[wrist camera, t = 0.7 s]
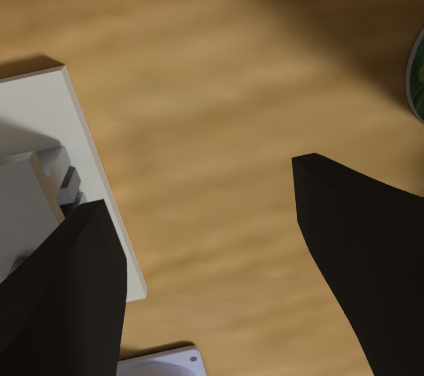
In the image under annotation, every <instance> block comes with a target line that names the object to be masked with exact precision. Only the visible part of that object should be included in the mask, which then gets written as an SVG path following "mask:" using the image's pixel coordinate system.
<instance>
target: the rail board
mask: <svg viewBox="0 0 424 376" xmlns="http://www.w3.org/2000/svg"><path fill="white" fill-rule="evenodd" d="M63 145H64V146H65V148H66V151H67V153H68V156H69V158H70V160H71V164H70V166H69V168H68V170H67V173H66V175H65V177H64V180H63V182H62V184H61V187H60V189H59V191H58V193H57V196H56V199H57V202H58V204H59V205H64V204H68V203H73V202H74V200H75V198H76V195H77V193H80V192H84V195H85V197H86V199H87V202H91V201H96V200H100V199H104V200H105V203H106V206H107V208H108V211H109V213H110V216H111V219H112V221H113V224H114V226H115V229H116V232H117V234H118V237H119V239H120V242H121V245H122V247H123V250H124V252H125V255H126V258H127V298H126V302H130V301H134V300H139V299H144V298H146V291H147V286H146V283H145V280H144V278H143V275H142V272H141V269H140V267H139V264H138V261H137V259H136V256H135V253H134V250H133V248H132V245H131V242H130V240H129V237H128V234H127V231H126V229H125V226H124V223H123V220H122V218H121V215H120V212H119V210H118V207H117V204H116V201H115V199H114V196H113V193H112V191H111V188H110V185H109V182H108V180H107V177H106V174H105V171H104V169H103V166H102V163H101V161H100V158H99V155H98V152H97V150H96V147H95V144H94V142H93V139H92V136H91V133H90V131H89V128H88V125H87V123H86V120H85V117H84V114H83V112H82V109H81V106H80V103H79V101H78V98H77V95H76V93H75V90H74V87H73V84H72V82H71V79H70V76H69V74H68V71H67V68H66V65H62V66H58V67H53V68H49V69H44V70H39V71H35V72H30V73H26V74H21V75H16V76H12V77H7V78H2V79H0V158H3V157H7V156H12V155H17V154H21V153H26V152H30V151H40V150H44V149H49V148H54V147H58V146H63Z"/></svg>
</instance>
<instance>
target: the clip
mask: <svg viewBox="0 0 424 376" xmlns="http://www.w3.org/2000/svg"><path fill="white" fill-rule="evenodd" d="M70 164H71V160H70V158H69V156H68V153H67V151H66V148H65V146H64V145H63V146H58V147H54V148H49V149H44V150H40V151H30V152H26V153H21V154H17V155H12V156H7V157H3V158H0V283H1V282H2V281H3V280H5V279H6V278H7V277H8V276H9V275H10V274H11V273H12V272H13V271H14V270H15V269H16V268H17V267H18V266H19V265H20V264H21V263H22V262H23V261H24V260H25V259H27V258H28V257H29V256H30V255H31V254H32V253H33V252H34V251H35V250H36V249H37V248H38V247H39V246H40V245H41V244H42V242H43V241H44V240H45V239H46V238H47V237H48V236H49V235H50V234H51V233H52V232H53V231H54V230H55V229H56V228H57V227H58V226H59V225H60V224H61V223H62V221H63V220H64V219H65V218H66V217H67V216H68V215H69V214H70V213H71V212H72V211H73V210H74V209H75V208H76V207H78V206H79V205H80V204H82V203H86V202H87V199H86V197H85V195H84V192H80V193H77V195H76V198H75V200H74V202H73V203H68V204H64V205H59V204H58V202H57V199H56V196H57V193H58V191H59V189H60V187H61V184H62V182H63V180H64V177H65V175H66V173H67V170H68V168H69V166H70Z"/></svg>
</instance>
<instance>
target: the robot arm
mask: <svg viewBox="0 0 424 376" xmlns="http://www.w3.org/2000/svg"><path fill="white" fill-rule="evenodd" d="M292 167H293V178H294V189H295V200H296V211H297V221H298V224H299V227H300V229H301V232H302V234H303V237H304V239H305V242H306V244H307V247H308V249H309V252H310V253H311V255H312V257H313V259H314V261H315V262H316V264H317V266H318V268H319V270H320V271H321V273H322V275H323V277H324V278H325V280H326V282H327V284H328V285H329V287H330V289H331V291H332V292H333V294H334V296H335V297H336V299H337V301H338V303H339V304H340V306H341V308H342V310H343V311H344V313H345V315H346V317H347V318H348V320H349V322H350V324H351V326H352V328H353V330H354V332H355V334H356V336H357V338H358V340H359V342H360V344H361V347H362V349H363V351H364V353H365V356H366V358H367V360H368V362H369V365H370V367H371V369H372V371H373V374H374V376H424V198H423V197H420V196H417V195H414V194H411V193H409V192H406V191H403V190H401V189H398V188H395V187H393V186H390V185H387V184H385V183H382V182H380V181H378V180H375V179H373V178H371V177H368V176H366V175H364V174H361V173H359V172H357V171H355V170H353V169H350V168H348V167H346V166H344V165H342V164H340V163H338V162H335V161H333V160H331V159H329V158H327V157H324V156H322V155H320V154H317V153H311V154H307V155H302V156H297V157H293V158H292ZM126 298H127V258H126V255H125V252H124V250H123V247H122V245H121V242H120V239H119V237H118V234H117V232H116V229H115V226H114V224H113V221H112V219H111V216H110V213H109V211H108V208H107V206H106V203H105V200H104V199H100V200H96V201H91V202H86V203H82V204H80V205H79V206H78V207H76V208H75V209H74V210H73V211H72V212H71V213H70V214H69V215H68V216H67V217H66V218H65V219H64V220H63V221H62V223H61V224H60V225H59V226H58V227H57V228H56V229H55V230H54V231H53V232H52V233H51V234H50V235H49V236H48V237H47V238H46V239H45V240H44V241H43V242H42V244H41V245H40V246H39V247H38V248H37V249H36V250H35V251H34V252H33V253H32V254H31V255H30V256H29V257H28V258H27V259H25V260H24V261H23V262H22V263H21V264H20V265H19V266H18V267H17V268H16V269H15V270H14V271H13V272H12V273H11V274H10V275H9V276H8V277H7V278H6V279H5V280H3V281H2V282H1V283H0V376H207V375H206V371H205V368H204V365H203V362H202V358H201V355H200V352H199V349H198V347H196V346H193V345H192V346H186V347H182V348H177V349H173V350H168V351H164V352H159V353H155V354H150V355H145V356H141V357H136V358H132V359H127V360H123V361H118V358H119V350H120V343H121V336H122V329H123V322H124V314H125V306H126Z"/></svg>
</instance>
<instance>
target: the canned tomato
mask: <svg viewBox="0 0 424 376" xmlns="http://www.w3.org/2000/svg"><path fill="white" fill-rule="evenodd" d="M405 87H406V95H407V99H408V102H409V105H410V107H411V109H412V111H413V112H414V114H415V116H416V117H417V118H418V119H419V120H420V121H421V122H422V123H423V124H424V27H423V28H422V30H421V31H420V33H419V35H418V37H417V39H416V41H415V43H414V45H413V47H412V50H411V53H410V56H409V59H408V63H407V68H406V76H405Z"/></svg>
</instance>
